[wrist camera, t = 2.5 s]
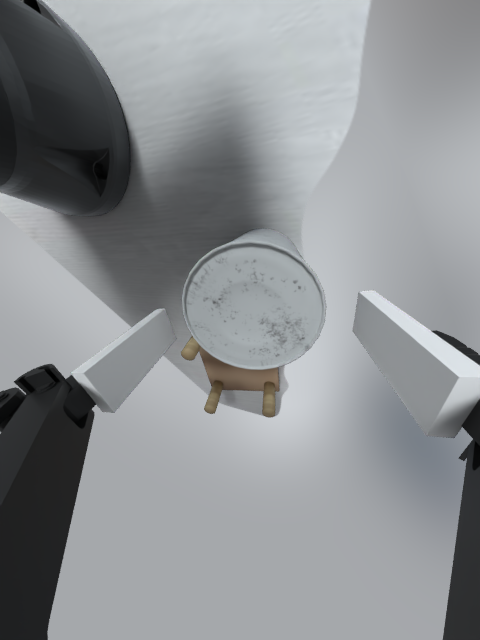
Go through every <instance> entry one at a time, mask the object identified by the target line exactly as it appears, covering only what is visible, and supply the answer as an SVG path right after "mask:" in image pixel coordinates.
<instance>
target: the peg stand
mask: <svg viewBox="0 0 480 640" xmlns="http://www.w3.org/2000/svg"><path fill="white" fill-rule="evenodd" d="M198 351H199V352H200V355H201V358H202V360H203V363H204V366H205V369H206V372H207V375H208V378H209V380H210V383H211V386H212V389H211V391H210V394H209V397H208V400H207V402H206V405H205V408H204V410H205V411H206V412H207V413H210V414H213V413H215V411H216V408H217V405H218V402H219V398H220V395H221V392H222V390H247V391H264V394H263V410H262V414H263V415H264V416H266V417H274V416H275V391H279V376H278V367H277V368H271V369H264V370H251V369H244V368H239V367H235V366H232V365H229V364H227V363H224V362H222V361H220V360H218V359H217V358H215V357H213V356H212V355H210V354H209V353H208V352H207V351H205V350H204V349H203V348H202V347H201V346H200V345H199V344H198V342H197V341H196V340H195V339H194V338H193V336H192V337H191V339H190V340H189V341H188V343H187V344H186V346H185V347H184V349H183V350H182V352H181V355H182V357H183V358H185V359H186V360H193V359H194V358H195V356H196V355H197V353H198Z"/></svg>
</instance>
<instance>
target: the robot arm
mask: <svg viewBox="0 0 480 640" xmlns="http://www.w3.org/2000/svg"><path fill="white" fill-rule="evenodd" d="M129 172H130V148H129V140H128V134H127V129H126V124H125V120H124V117H123V113H122V110H121V107H120V104H119V102H118V99H117V96H116V94H115V92H114V89H113V87H112V85H111V83H110V81H109V79H108V77H107V75H106V73H105V71H104V70H103V68H102V66H101V65H100V63H99V61H98V60H97V58H96V57H95V55H94V54H93V52H92V51H91V50H90V48H89V47H88V46H87V45H86V43H85V42H84V41H83V40H82V39H81V37H80V36H79V35H78V34H77V33H76V32H75V31H74V30H73V29H72V28H71V27H70V26H69V25H68V24H67V23H66V22H65V21H63V20H62V19H61V18H60V17H59V16H58V15H57V14H56V13H55V12H54V11H53V10H52V9H51V8H49V7H48V6H47V5H46V4H45V3H44V2H43V1H42V0H0V192H1V193H4V194H7V195H10V196H13V197H16V198H19V199H22V200H25V201H27V202H30V203H33V204H36V205H39V206H42V207H45V208H48V209H51V210H54V211H57V212H60V213H63V214H68V215H75V216H97V215H102V214H105V213H107V212H109V211H110V210H112V209H113V208H114V207H115V206H116V205H117V204H118V203H119V201H120V200H121V198H122V196H123V195H124V192H125V190H126V187H127V183H128V179H129ZM353 332H354V334H355V335H356V336H357V338H358V339H359V341H360V342H361V344H362V345H363V347H364V348H365V349H366V351H367V352H368V354H369V355H370V357H371V358H372V359H373V361H374V362H375V364H376V365H377V366H378V368H379V369H380V371H381V372H382V374H383V375H384V376H385V377H386V379H387V381H388V382H389V384H390V385H391V386H392V388H393V389H394V391H395V392H396V394H397V395H398V397H399V398H400V399H401V401H402V402H403V404H404V405H405V407H406V408H407V409H408V411H409V412H410V414H411V415H412V417H413V418H414V419H415V421H416V422H417V424H418V425H419V426H420V428H421V429H422V431H423V432H424V433H425V435H426V436H432V437H446V438H455V436H456V435H457V434H458V432H459V431H460V429H461V428H462V427H463V428H464V429H465V430H466V431H467V433H468V434H469V435H470V436H471V437H472V438H473V440H472V441H471V443H470V444H469V445H468V446H467V448H466V449H465V450H464V452H463V453H462V454H461V456H460V457H459V459H461V460H463V461H464V460H465V459H466V458H467V463H466V470H465V477H464V485H463V492H462V500H461V507H460V515H459V523H458V530H457V537H456V545H455V553H454V560H453V567H452V575H451V583H450V590H449V597H448V605H447V612H446V620H445V627H444V635H443V640H480V355H478V353H477V352H475V351H474V350H472V349H471V348H467V346H466V345H465V344H463V343H461V342H460V341H458V340H457V339H455V338H454V337H451V336H449V335H447V334H444V333H442V332H439V331H430V330H429V329H427V328H426V327H424V326H423V325H422V324H420V323H419V322H417V321H416V320H414V319H413V318H412V317H410V316H409V315H407V314H406V313H405V312H403V311H402V310H400V309H399V308H398V307H396V306H395V305H394V304H392V303H391V302H389V301H388V300H386V299H385V298H384V297H382V296H380V295H379V294H378V293H377V292H375V291H374V290H372V291H361V292H359V293H358V299H357V306H356V313H355V320H354V326H353ZM176 339H177V338H176V335H175V333H174V330H173V328H172V325H171V323H170V320H169V318H168V315H167V313H166V310H165V309H156V310H155V311H153V312H152V313H151V314H149V315H148V316H147V317H145V318H144V319H142V320H141V321H140V322H138V323H137V324H136V325H134V326H133V327H132V328H130V329H129V330H128V331H126V332H125V333H124V334H122V335H121V336H120V337H118V338H117V339H116V340H114V341H113V342H112V343H110V344H109V345H107V346H106V347H105V348H104V349H102V350H101V351H99V352H98V353H97V354H95V355H94V356H93V357H91V358H90V359H89V360H87V361H86V362H85V363H83V364H82V365H81V366H79V367H78V368H76V369H75V370H74V371H72V372H71V374H72V375H71V376H70V377H68V378H67V379H65V378H64V377H63V376H62V374H61V373H60V372H59V371H58V370H57V369H56V367H55V366H54V365H52V364H47V365H43V366H40V367H37V368H36V369H33V370H31V371H29V372H27V373H25V374H24V375H22V376H20V377H19V378H18V379H17V380H16V381H14V382H15V383H16V384H17V385H18V386H19V387H20V388H21V389H22V390H23V391H24V392H25V393H26V395H25V394H24V393H23V392H22V391H21V390H19V389H18V388H11V389H8V390H5V391H1V392H0V432H1V434H0V640H48V636H47V631H48V624H49V619H50V614H51V610H52V605H53V601H54V596H55V592H56V587H57V583H58V578H59V573H60V569H61V564H62V560H63V555H64V551H65V546H66V542H67V537H68V533H69V528H70V524H71V519H72V515H73V510H74V506H75V501H76V497H77V492H78V487H79V483H80V478H81V474H82V469H83V465H84V460H85V456H86V451H87V446H88V442H89V437H90V433H91V429H92V424H93V419H94V412H93V411H92V408H93V407H94V406H95V405H97V406H98V407H99V408H100V409H101V411H102V412H111V413H115V411H116V410H117V409H118V408H119V407H120V405H121V404H122V403H123V402H124V401H125V399H126V398H127V397H128V396H129V395H130V393H131V392H132V391H133V390H134V389H135V388H136V386H137V385H138V384H139V383H140V382H141V380H142V379H143V378H144V377H145V376H146V374H147V373H148V372H149V371H150V369H151V368H152V367H153V366H154V365H155V364H156V363H157V361H158V360H159V358H161V357H162V355H163V354H164V353H165V352H166V351H167V349H168V348H169V347H170V346H171V345H172V343H173V342H174V341H175V340H176Z"/></svg>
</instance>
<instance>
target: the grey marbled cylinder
mask: <svg viewBox="0 0 480 640" xmlns="http://www.w3.org/2000/svg"><path fill="white" fill-rule="evenodd" d="M182 309H183V316H184V319H185V322H186V325H187V327H188V329H189V331H190V332H191V334H192V336H193V338H194V339H195V340H196V341H197V342H198V344H199V345H200V346H201V347H202V348H203V349H204V350H205V351H207V352H208V353H209V354H210V355H212V356H213V357H215V358H217V359H218V360H220V361H222V362H224V363H227V364H229V365H232V366H235V367H239V368H244V369H251V370H264V369H271V368H277V367H280V366H283V365H286V364H289V363H290V362H292V361H294V360H296V359H297V358H299V357H301V356H302V355H303V354H304V353H305V352H306V351H308V350H309V349H310V348H311V347H312V345H313V344H314V343H315V341H316V340H317V339H318V337H319V335H320V333H321V330H322V328H323V325H324V322H325V314H326V301H325V295H324V290H323V288H322V286H321V284H320V282H319V279H318V277H317V275H316V274H315V273H314V271H313V270H312V269H311V268H310V266H308V264H307V263H306V262H305V261H304V259H303V258H302V257H301V255H300V254H299V252H298V251H297V249H296V247H295V245H294V244H293V243H292V241H291V240H290V239H289V238H288V237H286V236H285V235H284V234H282V233H281V232H278V231H275V230H273V229H265V228H261V229H254V230H251V231H249V232H246V233H244V234H243V235H241V236H240V237H239V238H237V239H235V240H233V241H231V242H229V243H227V244H225V245H222V246H220V247H217V248H215V249H213V250H212V251H210V252H209V253H208V254H206V255H205V256H204V257H202V258H201V259H200V260H199V261H198V262H197V263H196V265H195V266H194V267H193V268H192V270H191V271H190V273H189V275H188V277H187V280H186V282H185V284H184V288H183V295H182Z"/></svg>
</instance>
